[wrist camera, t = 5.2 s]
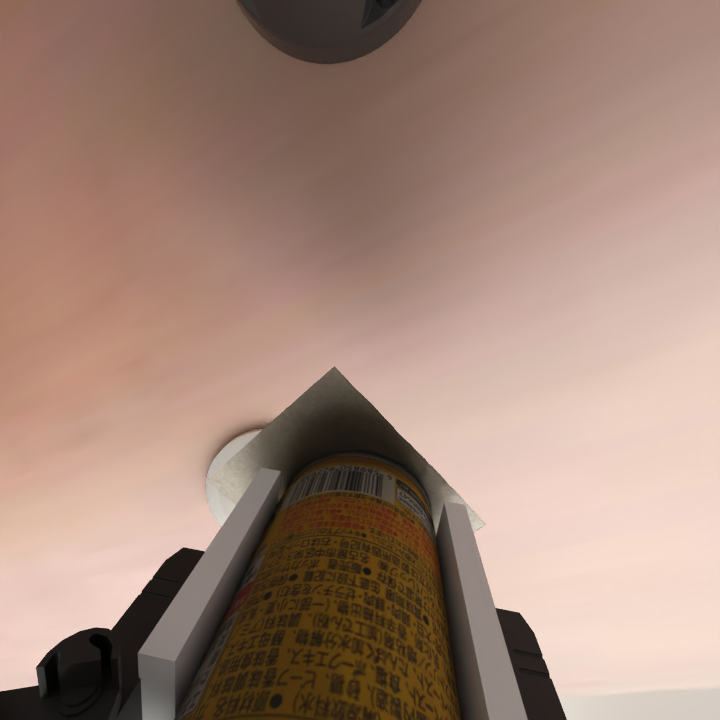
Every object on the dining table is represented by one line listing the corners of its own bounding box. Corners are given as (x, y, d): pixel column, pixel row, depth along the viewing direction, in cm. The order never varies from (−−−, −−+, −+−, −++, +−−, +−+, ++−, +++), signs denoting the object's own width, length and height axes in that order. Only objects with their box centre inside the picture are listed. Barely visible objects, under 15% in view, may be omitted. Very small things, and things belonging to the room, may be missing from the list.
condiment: (350, 607, 16) (223, 1590, 4) (209, 476, 14) (-521, 1310, 3) (485, 520, 14) (952, 1832, 2) (336, 363, 13) (-246, 1336, 1)
